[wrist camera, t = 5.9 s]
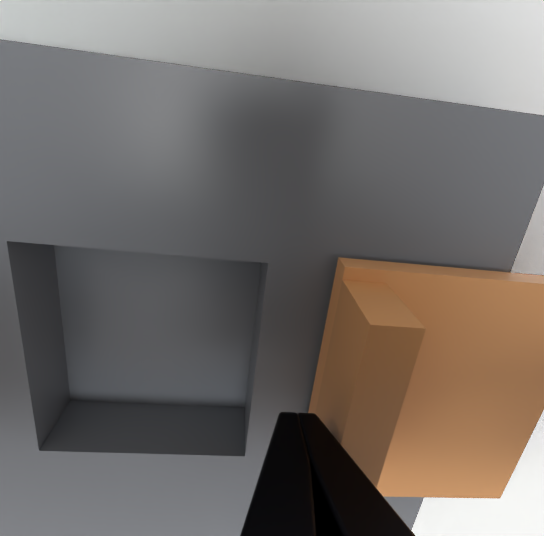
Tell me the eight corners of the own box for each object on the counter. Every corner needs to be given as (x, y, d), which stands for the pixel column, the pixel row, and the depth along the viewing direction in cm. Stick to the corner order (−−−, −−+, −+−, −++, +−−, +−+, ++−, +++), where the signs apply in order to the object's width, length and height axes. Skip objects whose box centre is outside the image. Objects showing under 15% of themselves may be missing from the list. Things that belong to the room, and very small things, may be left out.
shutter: (295, 476, 11) (309, 571, 9) (338, 257, 8) (374, 308, 6) (488, 480, 12) (548, 570, 9) (581, 278, 9) (696, 333, 7)
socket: (-2, 470, 14) (-53, 541, 11) (-95, 39, 9) (-221, 8, 6) (382, 478, 15) (406, 542, 13) (495, 119, 10) (568, 118, 8)
